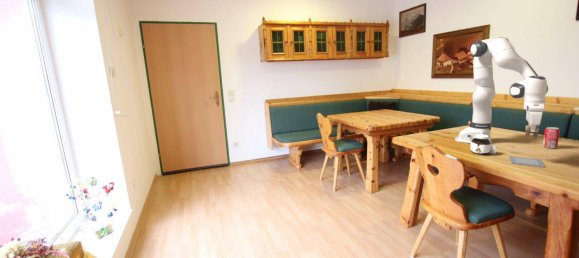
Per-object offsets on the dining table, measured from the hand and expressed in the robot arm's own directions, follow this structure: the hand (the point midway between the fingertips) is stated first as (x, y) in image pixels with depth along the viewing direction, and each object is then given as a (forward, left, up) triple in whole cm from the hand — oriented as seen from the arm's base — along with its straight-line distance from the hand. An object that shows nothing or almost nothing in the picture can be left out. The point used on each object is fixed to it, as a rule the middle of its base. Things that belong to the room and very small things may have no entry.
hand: (531, 130), depth 156 cm
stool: (0, 0, -5) cm, 5 cm away
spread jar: (-21, +7, -18) cm, 28 cm away
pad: (-1, -2, -18) cm, 18 cm away
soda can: (+15, +38, -18) cm, 45 cm away
